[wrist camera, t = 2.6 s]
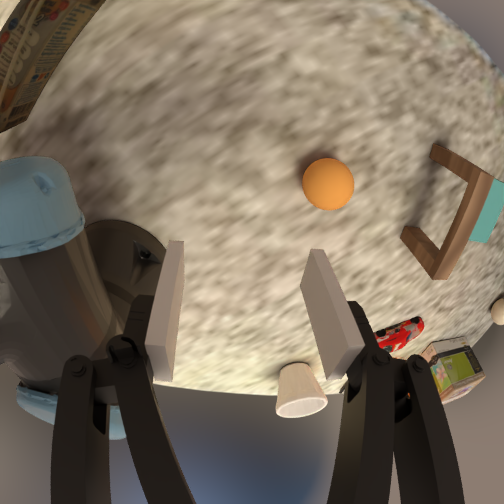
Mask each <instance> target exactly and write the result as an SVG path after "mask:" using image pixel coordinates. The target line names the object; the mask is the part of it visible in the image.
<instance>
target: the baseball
mask: <svg viewBox="0 0 504 504" xmlns="http://www.w3.org/2000/svg"><path fill="white" fill-rule="evenodd" d="M491 317H492V319H493V321H494V322H495V323H496V324H498V325H503V324H504V298H502V299H499V300H497V301H496V302H495V303H494V305H493V307H492V309H491Z"/></svg>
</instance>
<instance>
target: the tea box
mask: <svg viewBox="0 0 504 504" xmlns="http://www.w3.org/2000/svg"><path fill="white" fill-rule="evenodd" d="M420 356H422V357H424V358H425V359H426V360H427V362H428V364H429V366H430V369H431V372H432V375H433V377H434V380H435V383H436V386H437V389H438V392H439V395H440V398H441V401H442V405H443V404H446V403H448V402H451V401H453V400H455V399H458V398H460V397H462V396H464V395H466V394H467V393H468V392H469V391H470V390H472V389H473V388H474V387H475V386H476V385H477V384H478V383H479V382H480V381H482V380H483V379H484V378H485V377H486V376H485V374H484V372H483V370H482V368H481V366H480V364H479V362H478V360H477V358H476V356H475V355H474V353H473V351H472V349H471V347H470V346H469V344H468V342H467V340H466V339H465V337H460V338H455V339H450V340H445V341H440V342H434V343H431V344H430V345H429V346H428V347H427V349H426V350H425V351H424V352H423V353H422V354H421V355H420Z"/></svg>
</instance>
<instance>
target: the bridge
mask: <svg viewBox="0 0 504 504" xmlns="http://www.w3.org/2000/svg"><path fill="white" fill-rule="evenodd" d="M430 158H431V159H433V160H435V161H436V162H438V163H439V164H441V165H442V166H444V167H446V168H447V169H449V170H450V171H452V172H453V173H455V174H456V175H458V176H459V177H461V178H462V179H463V180H465V181H466V182H468V185H467V188H466V191H465V193H464V196H463V199H462V201H461V204H460V206H459V209H458V211H457V213H456V216H455V218H454V220H453V223H452V225H451V227H450V229H449V232H448V234H447V236H446V238H445V240H444V242H443V244H442V246H441V249H440V250H439V249H438V248H437V247H436V246H435V244H434V243H433V242H432V241H431V240H430V239H429V238H428V237H427V236H426V234H425V233H424V232H423V231H422V230H421V229H420V228H415V227H408V226H405V227H404V230H403V232H402V234H401V237H400V239H401V240H402V241H403V242H404V243H405V245H406V246H407V247H408V248H409V250H410V251H411V252H412V254H413V255H414V256H415V257H416V259H417V260H418V261H419V263H420V264H421V265H422V267H423V268H424V269H425V271H426V272H427V273H428V275H429V276H430V277H431V279H432V280H447V279H448V277H449V275H450V274H451V272H452V270H453V268H454V267H455V265H456V263H457V261H458V259H459V257H460V255H461V253H462V251H463V250H464V248H465V246H466V244H467V242H468V239H469V237H470V235H471V233H472V231H473V229H474V227H475V225H476V222H477V220H478V218H479V216H480V213H481V211H482V209H483V206H484V204H485V201H486V199H487V196H488V194H489V191H490V188H491V186H492V183H493V180H494V177H493V176H491V175H490V174H488V173H487V172H485V171H484V170H482V169H481V168H479V167H478V166H476V165H474V164H473V163H471V162H469V161H468V160H466V159H464V158H463V157H461V156H459V155H458V154H456V153H454V152H452V151H450V150H449V149H446V148H444V147H441V146H439V145H436V144H434V143H433V147H432V150H431V154H430Z"/></svg>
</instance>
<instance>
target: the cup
mask: <svg viewBox="0 0 504 504" xmlns="http://www.w3.org/2000/svg"><path fill="white" fill-rule="evenodd" d="M327 402H328V400H327V397H326V396H325V394H324V392H323V391H322V389H321V387H320V385H319V383H318V381H317V380H316V378H315V376H314V374H313V372H312V370H311V369H310V367H309V366H308V365H307V364H306V363H303V362H296V363H291V364H288V365H286V366H284V367H283V368H282V369H281V370H280V378H279V388H278V399H277V404H276V414H278V415H279V416H281V417H286V418H297V417H302V416H307V415H310V414H313V413H316V412H318V411H320V410H322V409H323V408H324V407H325V406H326V405H327Z"/></svg>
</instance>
